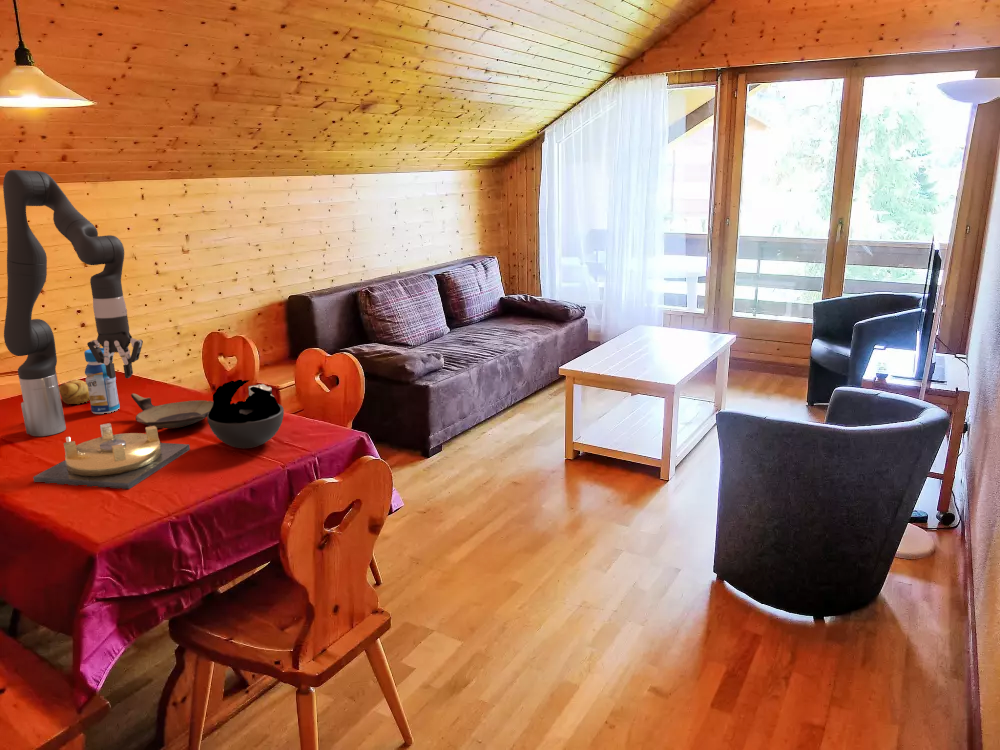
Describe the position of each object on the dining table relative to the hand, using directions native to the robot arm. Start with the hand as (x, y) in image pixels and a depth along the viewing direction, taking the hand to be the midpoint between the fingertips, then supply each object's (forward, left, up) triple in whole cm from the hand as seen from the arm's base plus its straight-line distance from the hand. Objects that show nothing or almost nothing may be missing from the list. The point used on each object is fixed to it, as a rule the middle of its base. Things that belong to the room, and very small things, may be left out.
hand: (120, 377), depth 195 cm
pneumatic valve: (+25, +28, -21) cm, 43 cm away
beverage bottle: (-31, +31, -21) cm, 49 cm away
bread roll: (-47, +39, -22) cm, 65 cm away
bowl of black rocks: (+30, +9, -21) cm, 38 cm away
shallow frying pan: (-2, +24, -22) cm, 32 cm away
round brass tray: (+2, -9, -19) cm, 22 cm away
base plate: (+2, -9, -21) cm, 23 cm away
